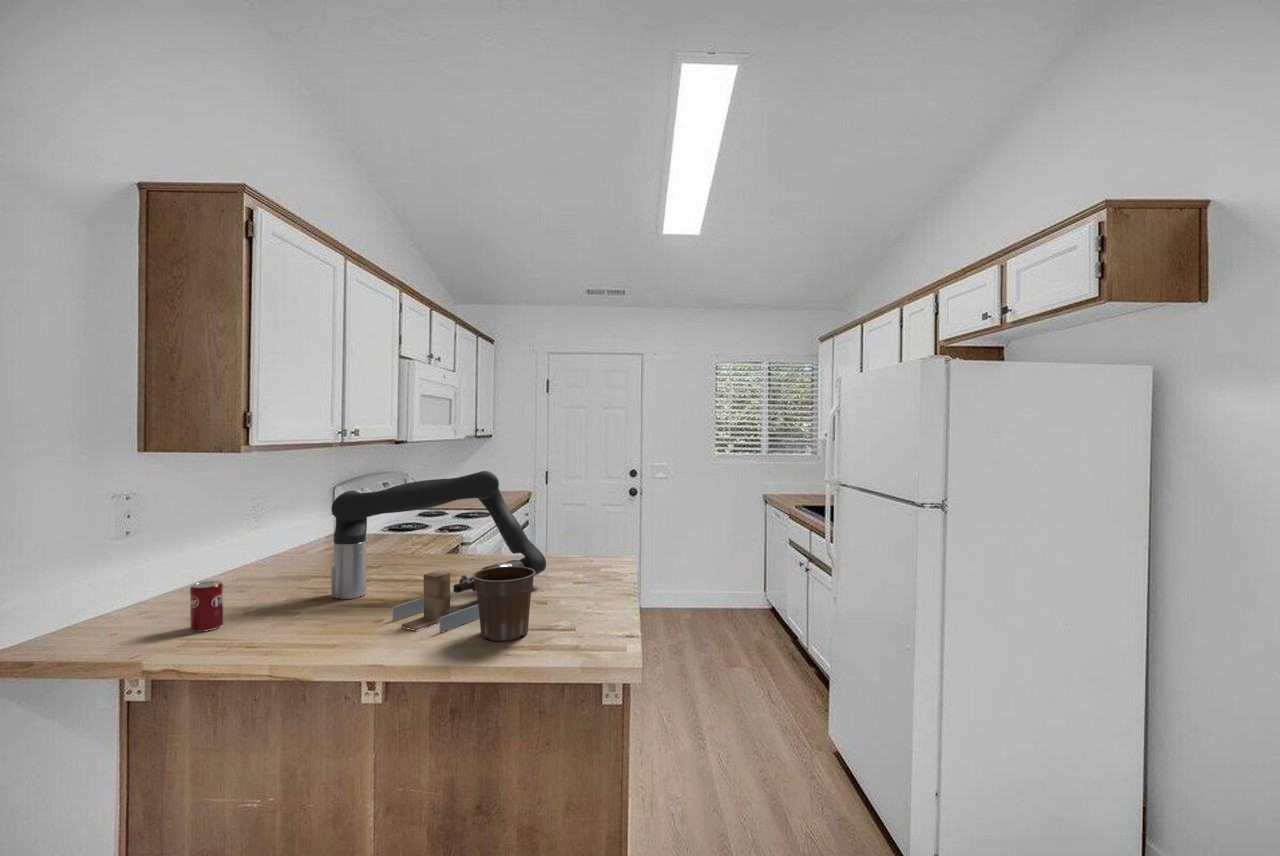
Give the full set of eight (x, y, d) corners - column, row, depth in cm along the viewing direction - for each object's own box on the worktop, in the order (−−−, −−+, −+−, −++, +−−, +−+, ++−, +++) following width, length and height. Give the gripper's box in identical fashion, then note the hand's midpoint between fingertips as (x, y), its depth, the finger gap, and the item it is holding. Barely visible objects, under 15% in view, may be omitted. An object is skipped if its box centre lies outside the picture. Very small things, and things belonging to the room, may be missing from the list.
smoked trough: (437, 606, 185) (437, 593, 185) (484, 616, 176) (484, 602, 176) (392, 621, 172) (392, 606, 171) (441, 633, 162) (441, 618, 162)
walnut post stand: (436, 615, 177) (436, 570, 177) (451, 619, 174) (451, 573, 174) (401, 627, 166) (401, 579, 166) (417, 631, 163) (416, 582, 163)
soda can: (188, 634, 161) (187, 588, 161) (193, 626, 167) (192, 582, 167) (221, 630, 164) (221, 585, 164) (225, 622, 171) (224, 579, 170)
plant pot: (468, 628, 166) (468, 568, 166) (527, 620, 172) (527, 563, 172) (477, 648, 151) (477, 583, 151) (542, 639, 157) (542, 576, 157)
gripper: (481, 561, 197) (439, 573, 182) (513, 566, 190) (471, 579, 175) (481, 585, 197) (439, 598, 182) (513, 590, 190) (471, 605, 175)
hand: (455, 589), depth 179 cm, fingers closed
